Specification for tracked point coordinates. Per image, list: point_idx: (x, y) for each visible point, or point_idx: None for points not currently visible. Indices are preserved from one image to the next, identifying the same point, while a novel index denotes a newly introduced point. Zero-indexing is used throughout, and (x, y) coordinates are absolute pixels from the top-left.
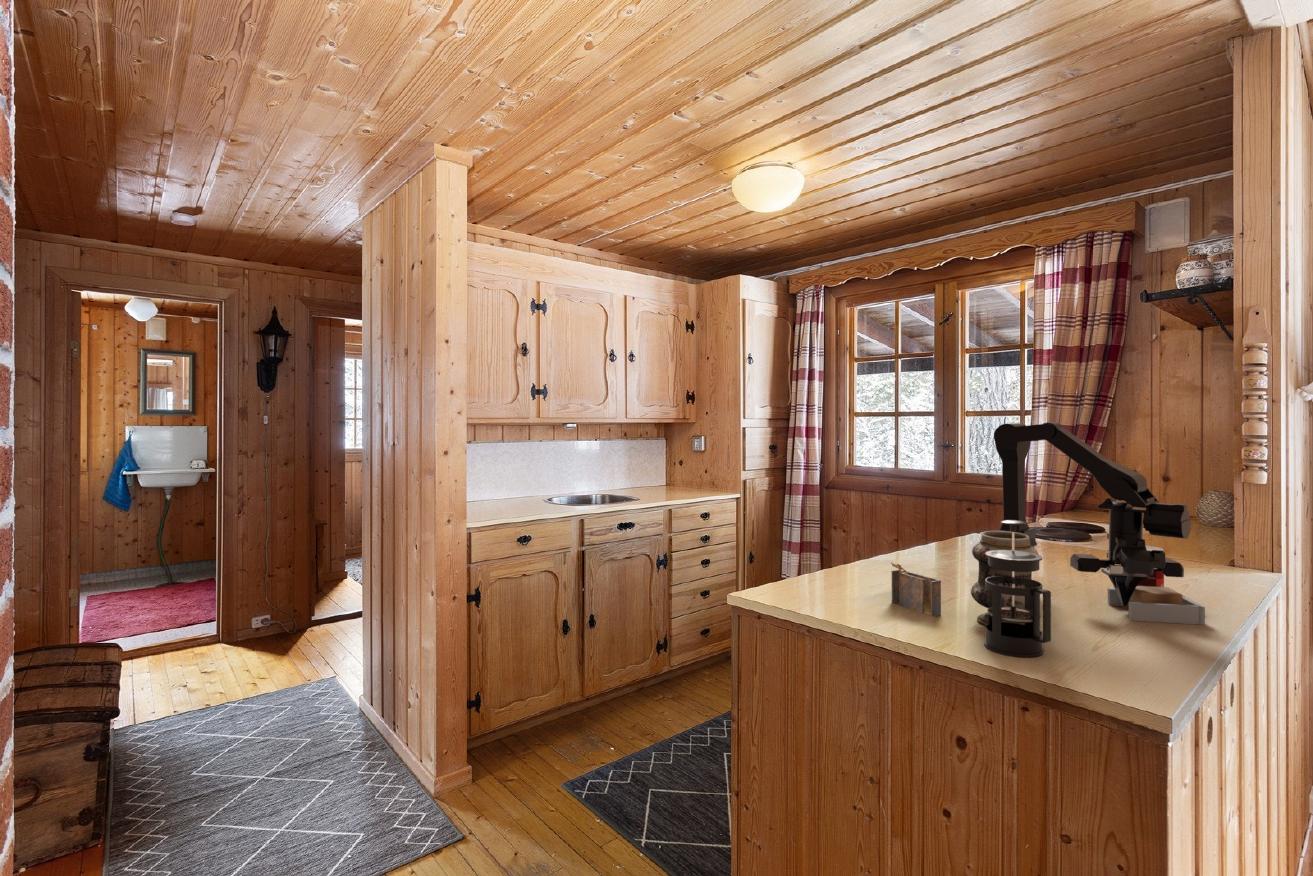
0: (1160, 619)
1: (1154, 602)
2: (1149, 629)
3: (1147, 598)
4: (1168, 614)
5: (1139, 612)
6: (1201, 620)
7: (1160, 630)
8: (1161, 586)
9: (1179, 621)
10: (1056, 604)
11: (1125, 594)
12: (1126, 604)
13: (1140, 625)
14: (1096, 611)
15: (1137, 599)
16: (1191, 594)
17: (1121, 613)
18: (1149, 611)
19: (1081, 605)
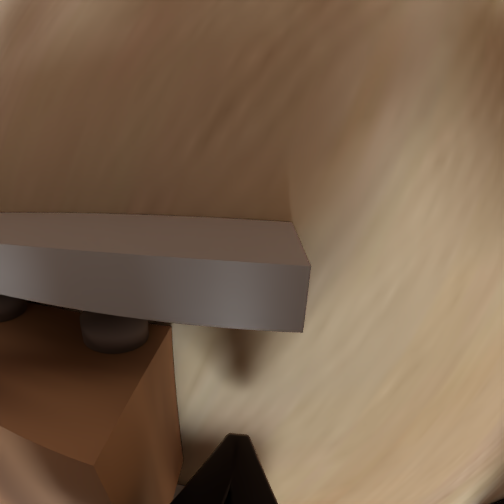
0: (84, 218)
1: (41, 373)
2: (254, 11)
3: (70, 410)
4: (20, 221)
5: (218, 231)
6: None
7: (188, 7)
8: None
9: (7, 215)
10: (488, 443)
11: (234, 501)
12: (229, 439)
13: (275, 95)
14: (401, 399)
15: (144, 457)
16: None
17: (269, 391)
18: (126, 229)
19: (400, 468)
